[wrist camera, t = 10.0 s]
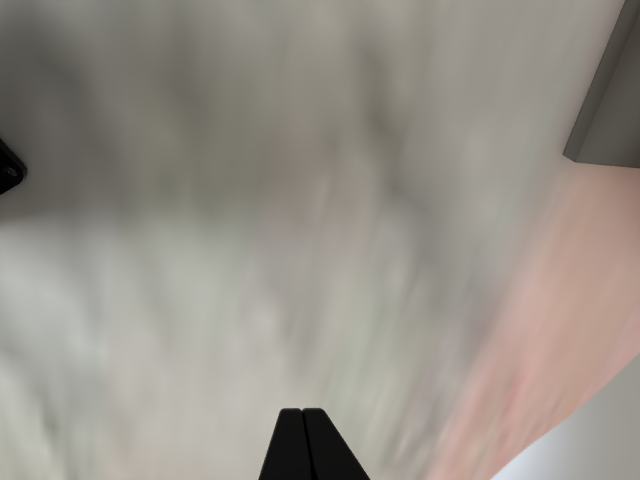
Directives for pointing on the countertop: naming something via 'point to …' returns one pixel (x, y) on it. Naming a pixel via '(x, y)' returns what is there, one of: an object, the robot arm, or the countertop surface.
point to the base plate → (612, 101)
